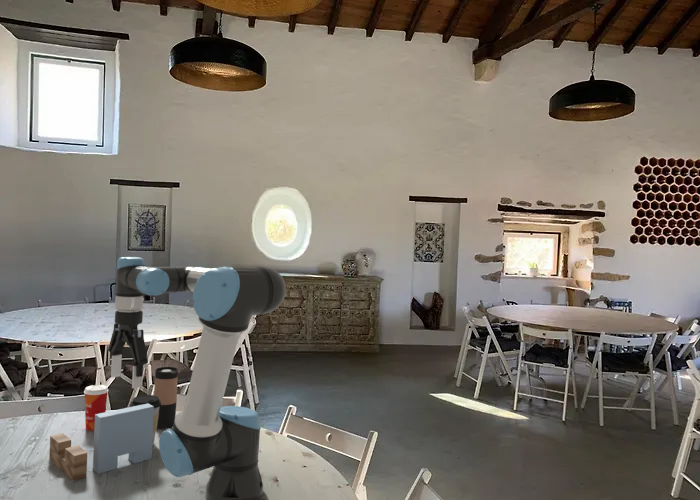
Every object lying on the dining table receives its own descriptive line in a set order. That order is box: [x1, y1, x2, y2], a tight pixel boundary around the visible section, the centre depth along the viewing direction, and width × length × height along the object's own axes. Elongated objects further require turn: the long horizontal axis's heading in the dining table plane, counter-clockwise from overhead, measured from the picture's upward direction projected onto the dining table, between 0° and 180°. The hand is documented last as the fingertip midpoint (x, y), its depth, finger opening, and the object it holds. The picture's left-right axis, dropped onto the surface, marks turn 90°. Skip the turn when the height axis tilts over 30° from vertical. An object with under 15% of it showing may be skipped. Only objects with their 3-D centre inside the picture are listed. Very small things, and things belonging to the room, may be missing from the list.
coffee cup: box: [129, 394, 161, 447], centre depth 176 cm, size 9×9×15 cm
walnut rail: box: [48, 433, 88, 482], centre depth 157 cm, size 18×4×7 cm, turn 47°
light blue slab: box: [92, 404, 154, 474], centre depth 162 cm, size 4×16×16 cm, turn 137°
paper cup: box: [83, 384, 109, 432], centre depth 187 cm, size 8×8×14 cm
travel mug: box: [153, 366, 179, 430], centre depth 193 cm, size 8×8×20 cm
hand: (126, 382), depth 161 cm, fingers open, 13 cm apart
